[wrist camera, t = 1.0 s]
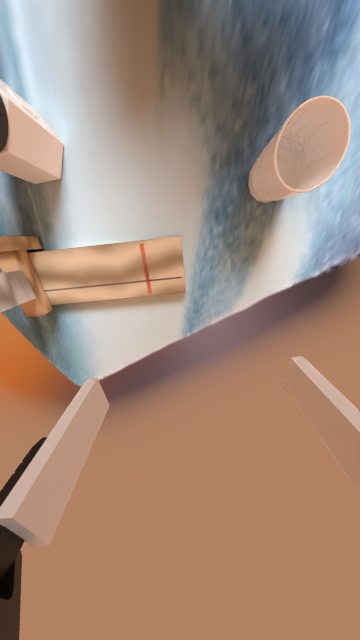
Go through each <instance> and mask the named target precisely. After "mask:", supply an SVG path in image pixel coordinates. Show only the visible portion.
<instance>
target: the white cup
mask: <svg viewBox="0 0 360 640" xmlns="http://www.w3.org/2000/svg"><path fill="white" fill-rule="evenodd" d="M350 130H351V128H350V119H349V115H348V112H347V110H346V108H345V107H344V105H343V104H342V103H341V102H340V101H339V100H337V99H336V98H333V97H330V96H318V97H314V98H311V99H309V100H307V101H306V102H304V103H303V104H301V105H300V106H299V107H298V108H296V109H295V110H294V111H293V113H292V114H291V115H290V116H289V117H288V119H287V120H286V121H285V123H284V124H283V125H282V126H281V128H280V129H279V130H278V131H277V133H276V134H275V135H274V136H273V138H272V139H271V140H270V142H269V143H268V144H267V146H266V147H265V148H264V150H263V151H262V153H261V154H260V156H259V157H258V158H257V159H256V161H255V162H254V164H253V166H252V169H251V171H250V173H249V181H248V186H249V190H250V193H251V195H252V196H253V197H254V198H255V199H256V200H257V201H259V202H263V203H268V202H271V201H278V200H281V199H285V198H288V197H292V196H295V195H298V194H302V193H305V192H308V191H311V190H314V189H316V188H318V187H319V186H321V185H322V184H324V183H325V182H326V181H327V180H328V179H329V178H330V177H331V176H332V175H333V174H334V173H335V171H336V170H337V169H338V167H339V166H340V164H341V162H342V160H343V158H344V156H345V154H346V151H347V148H348V144H349V140H350Z"/></svg>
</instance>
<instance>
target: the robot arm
mask: <svg viewBox="0 0 360 640" xmlns="http://www.w3.org/2000/svg"><path fill="white" fill-rule="evenodd" d="M285 389H286V390H287V392H288V393H289V394H290V396H291V397H292V399H293V400H294V401H295V403H296V404H297V406H298V407H299V409H300V410H301V411H302V413H303V414H304V416H305V417H306V419H307V420H308V421H309V423H310V424H311V426H312V427H313V429H314V430H315V431H316V433H317V434H318V436H319V437H320V438H321V440H322V441H323V443H324V444H325V446H326V447H327V449H328V450H329V451H330V453H331V454H332V455H333V457H334V459H335V460H336V461H337V463H338V464H339V466H340V467H341V468H342V470H343V471H344V473H345V474H346V476H347V477H348V478H349V480H350V481H351V483H352V484H353V486H354V487H355V488H356V490H357V491H358V493H359V494H360V410H358V409H357V408H356V407H355V406H354V405H353V404H352V403H351V402H350V401H349V400H348V399H347V398H345V397H344V396H343V395H342V394H341V393H340V392H339V391H338V390H337V389H336V388H335V387H334V386H333V385H332V384H331V383H330V382H329V381H328V380H327V379H326V378H325V377H324V376H323V375H322V374H321V373H319V372H318V371H317V370H316V369H315V368H314V367H313V366H312V365H311V364H310V363H309V362H308V361H307V360H306V359H305V358H304V357H292V358H290V363H289V369H288V376H287V382H286V388H285ZM108 407H109V403H108V401H107V399H106V396H105V394H104V392H103V390H102V388H101V385H100V383H99V381H98V379H97V378H95V379H87V380H86V381H85V383H84V384H83V386H82V387H81V389H80V390H79V392H78V393H77V394H76V396H75V397H74V399H73V401H72V402H71V403H70V405H69V406H68V408H67V409H66V411H65V412H64V414H63V415H62V417H61V418H60V420H59V421H58V423H57V424H56V426H55V427H54V429H53V430H52V432H51V433H50V434H49V436H48V437H45V438H42V439H41V440H40V441H39V442H37V443H36V444H35V445H34V446H33V447H32V448H31V450H30V451H29V453H28V454H27V455H26V457H25V458H24V459H23V462H22V463H21V464H20V465H19V466H18V468H17V469H16V471H15V473H14V474H13V475H12V476H11V478H10V479H9V480H8V482H7V483H6V484H5V486H4V487H3V489H2V490H1V491H0V640H19V625H20V596H21V567H22V554H21V551H20V549H21V547H22V545H23V542H24V541H26V542H27V543H29V544H30V545H32V546H35V545H49V544H50V542H51V539H52V537H53V534H54V532H55V530H56V528H57V525H58V523H59V521H60V518H61V516H62V514H63V512H64V509H65V507H66V505H67V502H68V500H69V498H70V495H71V493H72V491H73V488H74V486H75V484H76V481H77V479H78V477H79V475H80V472H81V469H82V468H83V465H84V463H85V461H86V458H87V456H88V454H89V451H90V449H91V447H92V445H93V442H94V440H95V438H96V435H97V433H98V431H99V428H100V426H101V424H102V421H103V419H104V416H105V415H106V412H107V410H108Z"/></svg>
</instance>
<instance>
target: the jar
mask: <svg viewBox="0 0 360 640" xmlns="http://www.w3.org/2000/svg"><path fill="white" fill-rule="evenodd" d="M62 157H63V143H62V142H61V140H60V139H59V138H58V137H57V135H56V134H55V133H54V132H53V131H52V129H51V128H50V127H49V126H48V125H47V123H46V122H45V121H44V120H43V119H42V117H41V116H40V115H39V114H38V112H37V111H36V110H34V109H33V108H32V107H31V106H30V105H29V104H28V103H27V102H26V101H24V100H23V99H22V98H21V97H20V96H19V95H18V94H17V93H15V92H14V91H13V90H12V89H11V88H10V87H9V86H8V85H6V84H5V83H4V82H3V81H2V80H1V79H0V171H2V172H5V173H8V174H10V175H13V176H15V177H18V178H21V179H23V180H26V181H28V182H31V183H34V184H39V183H44V182H48V181H53V180H58V179H61V172H62Z"/></svg>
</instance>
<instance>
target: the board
mask: <svg viewBox="0 0 360 640" xmlns="http://www.w3.org/2000/svg"><path fill="white" fill-rule="evenodd" d="M28 255H29V257H30V260H31V262H32V264H33V266H34V269H35V271H36V273H37V275H38V278H39V280H40V282H41V284H42V287H43V289H44V291H45V293H46V296H47V298H48V300H49V302H50V305H57V304H68V303H78V302H89V301H99V300H110V299H120V298H131V297H141V296H152V295H163V294H173V293H184V292H186V290H185V278H184V267H183V256H182V244H181V236H177V237H168V238H159V239H150V240H141V241H132V242H123V243H114V244H105V245H96V246H87V247H78V248H69V249H59V250H50V251H41V252H32V253H28ZM0 268H1V267H0ZM1 269H2V268H1ZM2 271H3V270H2ZM20 306H21V305H20ZM21 308H22V307H21Z"/></svg>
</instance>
